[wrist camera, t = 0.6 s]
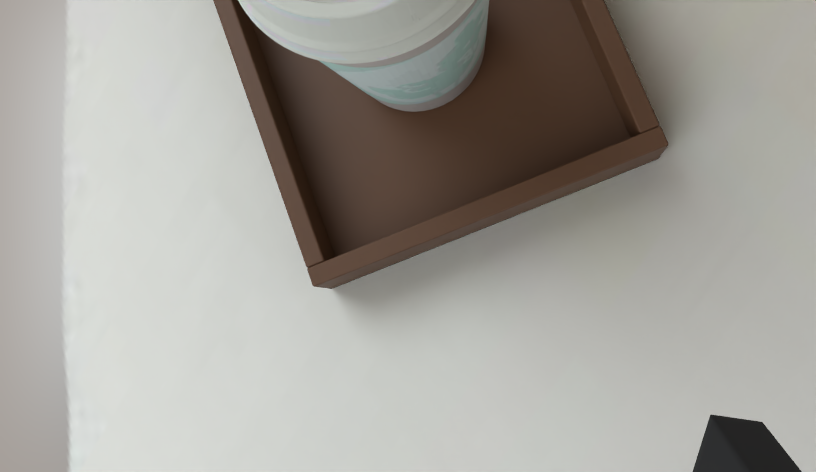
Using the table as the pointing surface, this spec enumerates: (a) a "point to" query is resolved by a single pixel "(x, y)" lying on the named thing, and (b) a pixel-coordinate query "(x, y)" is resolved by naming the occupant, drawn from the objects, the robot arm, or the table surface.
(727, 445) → the robot arm
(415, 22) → the coffee cup
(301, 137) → the tray
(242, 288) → the table surface
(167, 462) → the table surface
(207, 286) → the table surface
